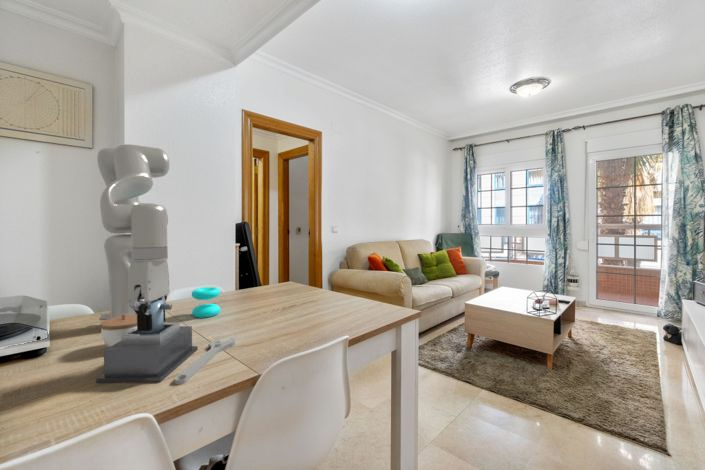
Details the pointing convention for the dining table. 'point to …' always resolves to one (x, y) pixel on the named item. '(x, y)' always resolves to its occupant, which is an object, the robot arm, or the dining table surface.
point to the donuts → (206, 309)
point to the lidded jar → (117, 328)
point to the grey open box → (147, 355)
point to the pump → (157, 315)
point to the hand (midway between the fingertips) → (151, 325)
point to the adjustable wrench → (204, 360)
